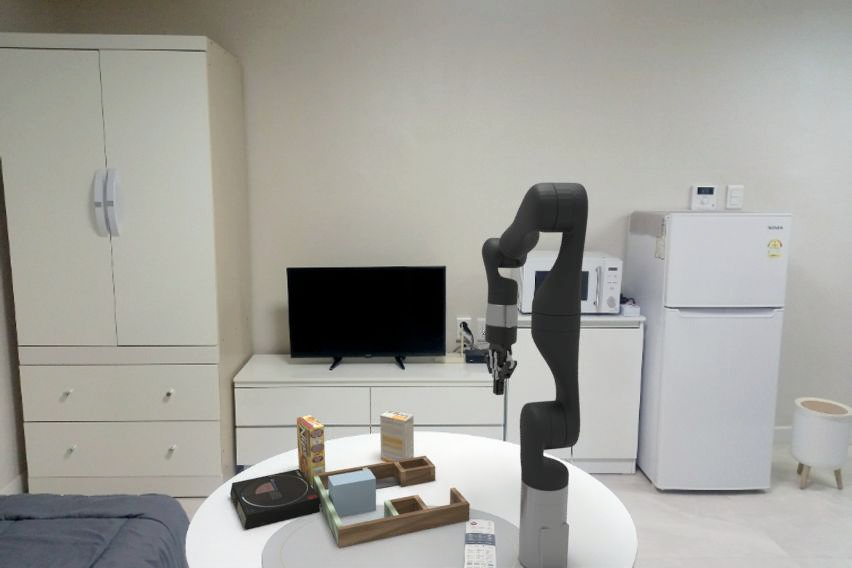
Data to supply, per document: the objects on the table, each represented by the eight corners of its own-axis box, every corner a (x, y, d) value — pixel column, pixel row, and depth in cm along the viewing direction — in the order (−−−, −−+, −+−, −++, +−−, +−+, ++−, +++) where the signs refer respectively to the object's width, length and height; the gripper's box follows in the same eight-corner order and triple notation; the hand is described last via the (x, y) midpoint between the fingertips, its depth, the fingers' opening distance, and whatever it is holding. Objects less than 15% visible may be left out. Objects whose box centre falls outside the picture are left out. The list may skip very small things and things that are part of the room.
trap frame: (469, 519, 141) (469, 503, 140) (339, 547, 130) (339, 530, 129) (425, 469, 165) (425, 455, 165) (312, 489, 154) (312, 474, 153)
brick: (376, 510, 145) (375, 478, 143) (333, 518, 141) (333, 485, 140) (369, 500, 149) (369, 469, 148) (328, 508, 146) (328, 476, 144)
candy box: (326, 482, 158) (325, 425, 155) (310, 487, 155) (309, 428, 153) (312, 469, 165) (311, 414, 163) (297, 473, 163) (295, 417, 160)
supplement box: (414, 460, 171) (414, 414, 169) (404, 467, 167) (404, 420, 165) (390, 453, 175) (389, 408, 173) (379, 459, 171) (379, 414, 169)
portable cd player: (230, 498, 150) (229, 483, 150) (299, 483, 158) (299, 468, 158) (244, 532, 136) (243, 515, 135) (319, 513, 144) (319, 497, 143)
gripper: (474, 318, 152) (472, 388, 154) (500, 327, 140) (497, 403, 141) (502, 317, 155) (499, 386, 156) (529, 326, 143) (526, 400, 144)
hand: (498, 394), depth 149 cm, fingers closed
